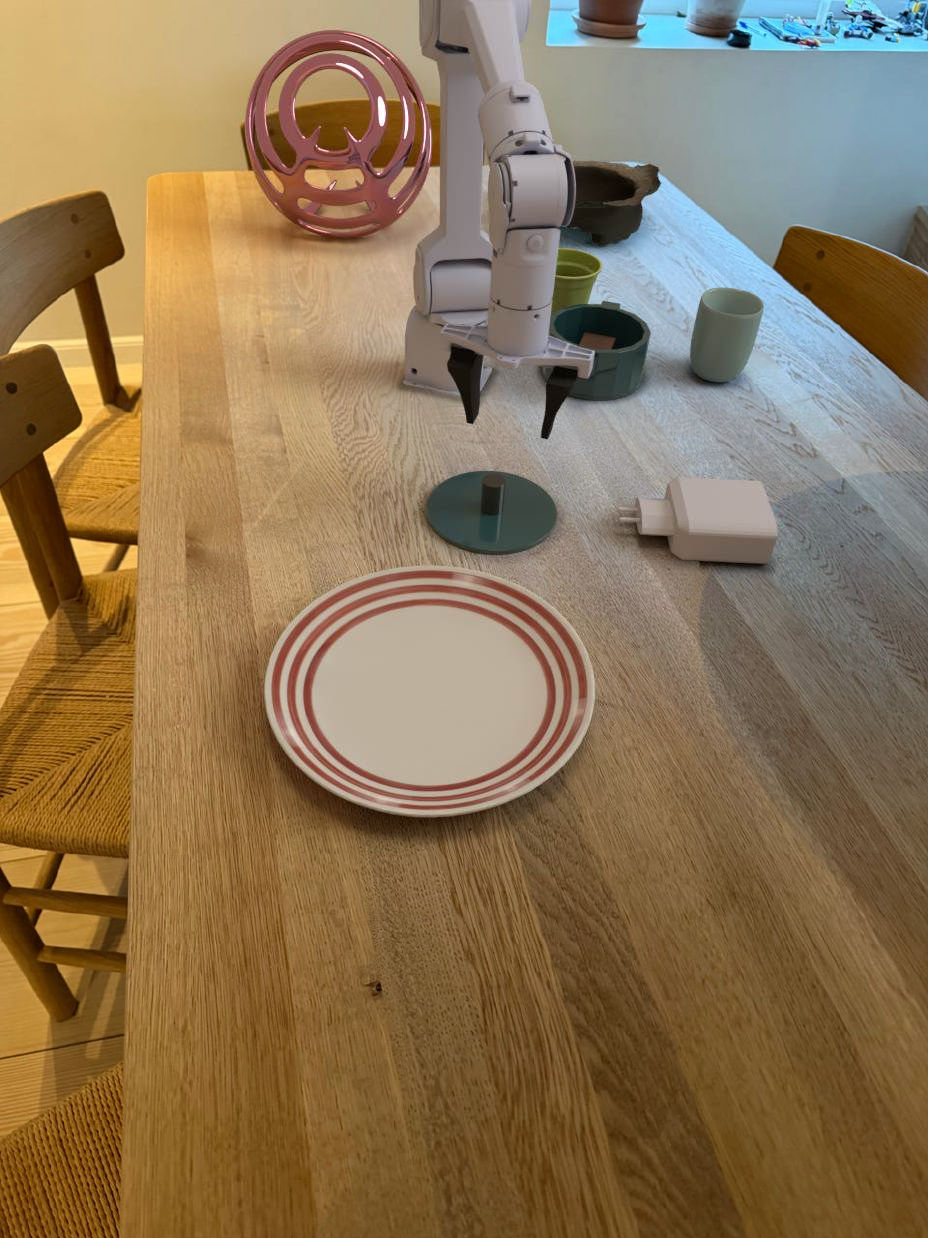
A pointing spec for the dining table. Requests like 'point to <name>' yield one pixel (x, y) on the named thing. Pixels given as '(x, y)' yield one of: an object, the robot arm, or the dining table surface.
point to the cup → (724, 333)
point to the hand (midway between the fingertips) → (509, 426)
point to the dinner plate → (429, 691)
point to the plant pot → (574, 278)
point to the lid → (491, 512)
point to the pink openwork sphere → (358, 150)
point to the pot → (611, 368)
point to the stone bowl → (611, 198)
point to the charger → (710, 520)
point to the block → (597, 341)
